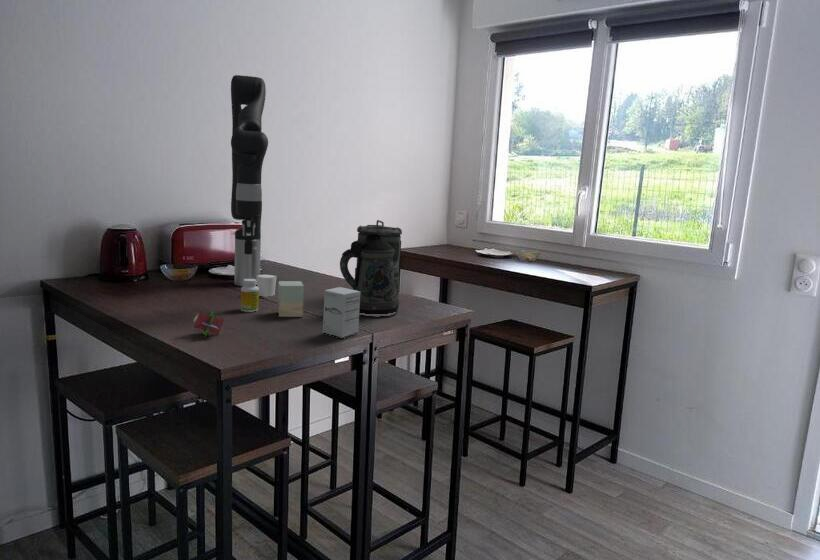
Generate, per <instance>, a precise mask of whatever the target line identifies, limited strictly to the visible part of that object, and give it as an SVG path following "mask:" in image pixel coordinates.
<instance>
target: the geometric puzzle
mask: <svg viewBox="0 0 820 560" xmlns="http://www.w3.org/2000/svg"><path fill="white" fill-rule="evenodd" d="M218 317H219V318H218ZM224 321H225V319H223V318H222V317H221V316H220V315H218V314H217V313H216V312H215V311H214V310H213V309H211V310H210V313H209V315H208V314H207V313H204V312H201V311H200V312H199V313H197V314H196V315H195V317H194V318H193V322H194V324H193V328H194V329H195V330H197V332H200V334H202V335H203V334H204V335H205V336H204V335H203V337H206V338H207V337H209V336H212V334H214V335H217V334H218V335H219V333H220V331H221V328H222V326H223V324H224ZM207 333H208V334H209V335H208V334H207Z"/></svg>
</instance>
